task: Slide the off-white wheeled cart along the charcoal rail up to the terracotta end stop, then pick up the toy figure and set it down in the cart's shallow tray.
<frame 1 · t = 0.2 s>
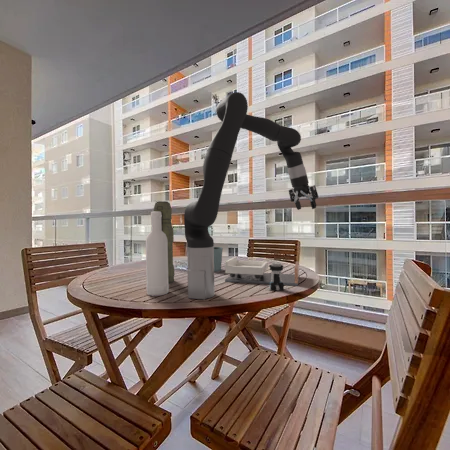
hand: (306, 208, 120), 31 cm above the table, tool tilted 20°, fingers open, 8 cm apart
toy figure: (274, 290, 96), on the table
cart: (247, 267, 116), point 5 cm above the table, slide at 0.0 cm
bottle: (157, 293, 94), on the table
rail: (263, 279, 114), on the table
thermos: (164, 282, 112), on the table
drinking glass: (213, 270, 137), on the table
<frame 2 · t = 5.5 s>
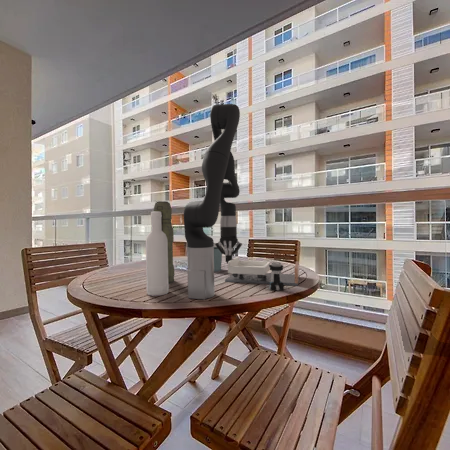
hand: (229, 263, 118), 7 cm above the table, tool pointing down, fingers closed
cart: (250, 267, 115), point 5 cm above the table, slide at 1.2 cm, touching gripper
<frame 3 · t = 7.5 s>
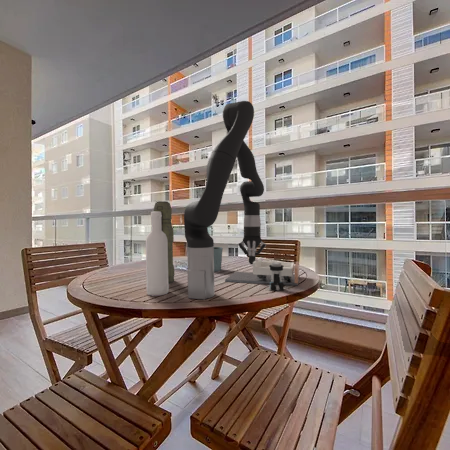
hand: (252, 264, 115), 7 cm above the table, tool pointing down, fingers closed
cart: (274, 268, 112), point 5 cm above the table, slide at 12.1 cm, touching gripper
everything else where it was.
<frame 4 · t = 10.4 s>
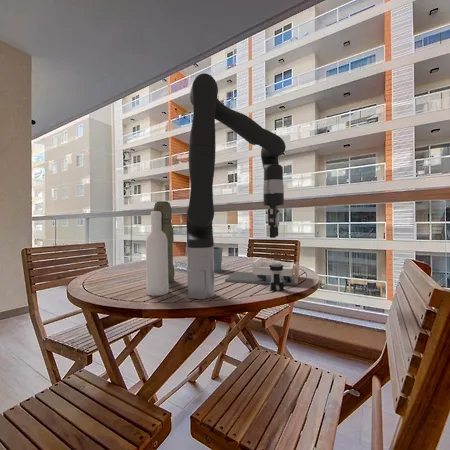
hand: (274, 236, 96), 20 cm above the table, tool pointing down, fingers open, 7 cm apart
cart: (274, 268, 112), point 5 cm above the table, slide at 12.0 cm
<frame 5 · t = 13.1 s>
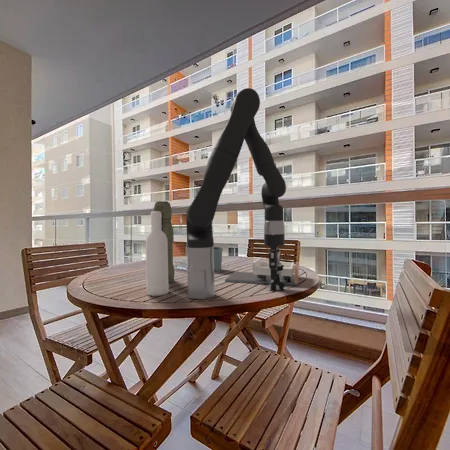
hand: (274, 277, 96), 4 cm above the table, tool pointing down, fingers closed on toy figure, 5 cm apart
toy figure: (274, 290, 96), on the table, touching gripper
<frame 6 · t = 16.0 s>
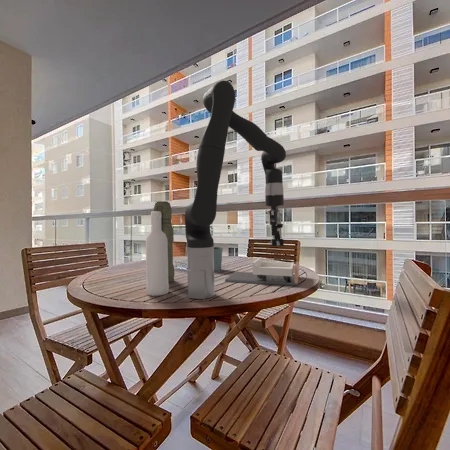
hand: (275, 234, 108), 20 cm above the table, tool pointing down, fingers closed on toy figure, 5 cm apart
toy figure: (275, 245, 108), point 15 cm above the table, touching gripper
when the fingers open (9 cm above the table, at t = 19.0 s): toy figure stays where it is, resting on cart.
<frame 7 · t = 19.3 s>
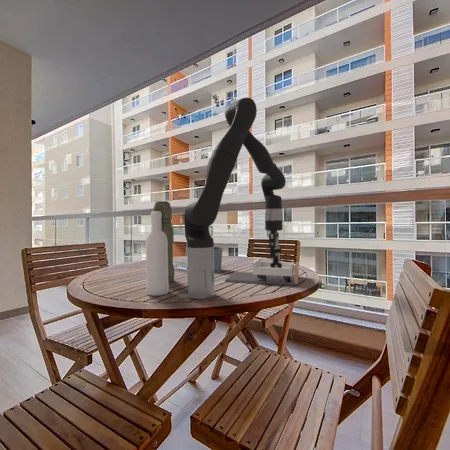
hand: (274, 256, 112), 10 cm above the table, tool pointing down, fingers open, 8 cm apart
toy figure: (274, 269, 112), point 4 cm above the table, touching cart
cart: (274, 268, 112), point 5 cm above the table, slide at 12.0 cm, touching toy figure
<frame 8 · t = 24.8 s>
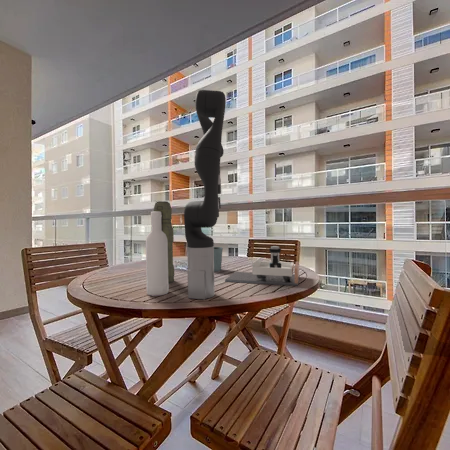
hand: (213, 217, 126), 28 cm above the table, tool pointing down, fingers open, 8 cm apart
at the end: cart slide at 11.8 cm; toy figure inside the target area (0.3 cm from its centre), point 4.4 cm above the table; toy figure tilted 0° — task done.
